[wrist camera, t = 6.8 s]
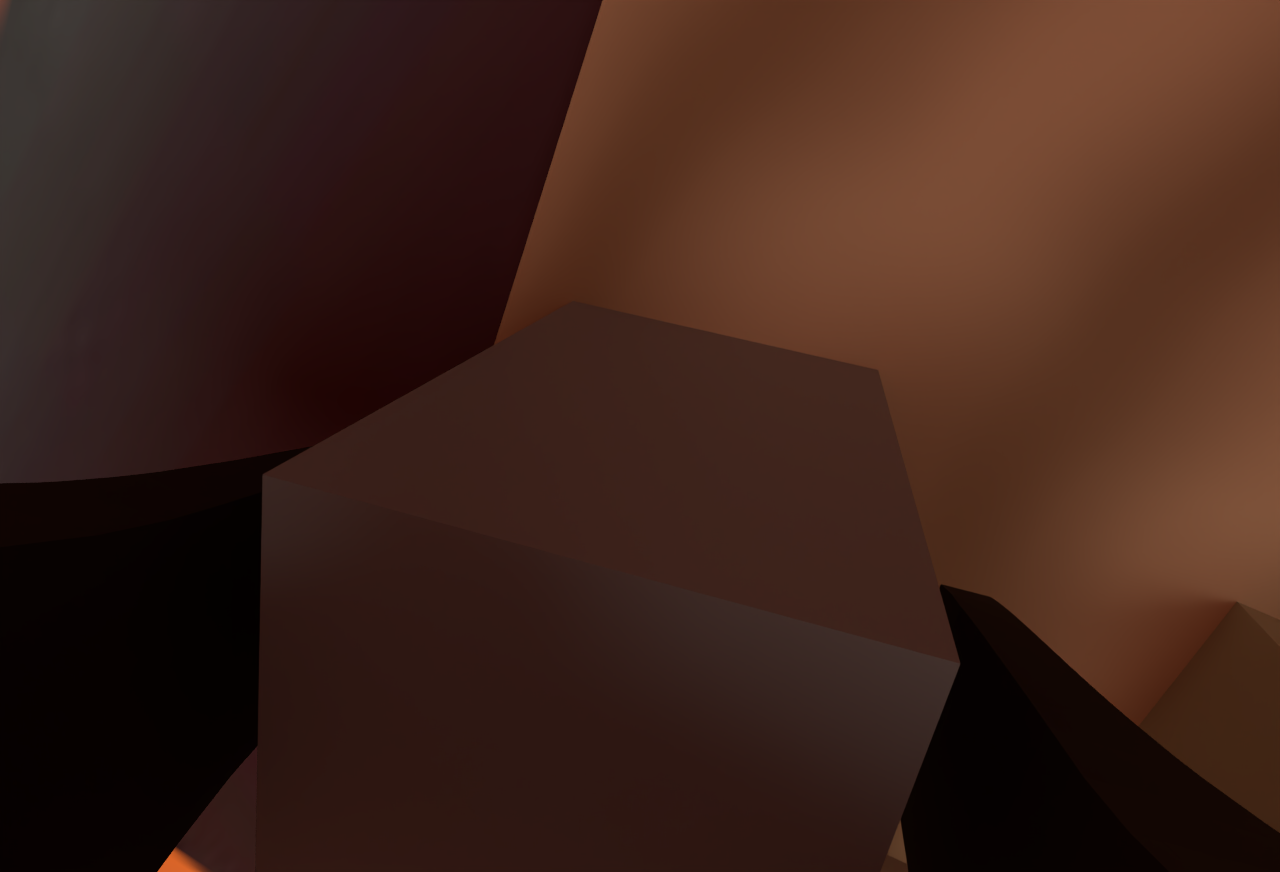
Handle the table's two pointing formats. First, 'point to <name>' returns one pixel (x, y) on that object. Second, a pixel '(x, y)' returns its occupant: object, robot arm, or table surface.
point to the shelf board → (975, 273)
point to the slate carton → (599, 616)
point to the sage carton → (1229, 712)
